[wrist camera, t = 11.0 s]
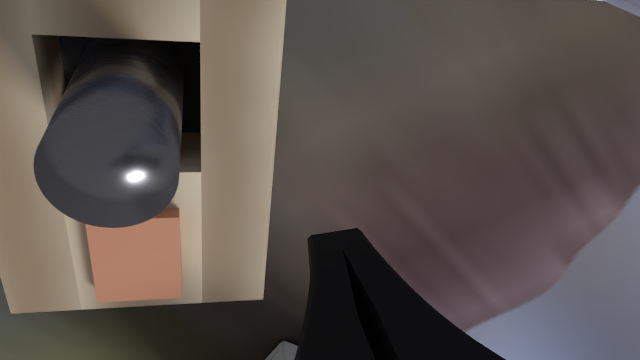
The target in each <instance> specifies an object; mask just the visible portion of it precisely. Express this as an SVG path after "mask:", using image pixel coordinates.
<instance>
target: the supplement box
mask: <svg viewBox="0 0 640 360" xmlns="http://www.w3.org/2000/svg"><path fill="white" fill-rule="evenodd" d="M297 348H298V346H297V345H294V344H292V343H289V342H286V341H282V342H281V343H280V344H279V345H278V346H277V347H276V348H275V349H274V350H273V351H272V352H271V353H270V354H269V356H268V357H267V358H266V359H265V360H294V359H295V355H296V352H297Z"/></svg>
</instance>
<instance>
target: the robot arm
mask: <svg viewBox="0 0 640 360" xmlns="http://www.w3.org/2000/svg"><path fill="white" fill-rule="evenodd" d="M598 1H605V2H607V3H610V4H612V5H614V6H616V7H619V8H621V9H623V10H625V11H628V12H630V13H632V14H634V15H637V16H639V17H640V0H598ZM308 252H309V265H310V284H309V294H308V301H307V307H306V313H305V318H304V324H303V328H302V332H301V337H300V341H299V344H298V348H297V352H296V355H295V359H294V360H505V359H504V358H502V357H501V356H499V355H497V354H496V353H494V352H493V351H491V350H490V349H488V348H487V347H485V346H483V345H482V344H480V343H479V342H477V341H476V340H474V339H473V338H471V337H470V336H469V335H467V334H466V333H465V332H463V331H462V330H460V329H459V328H458V327H456V326H455V325H454V324H453V323H451V322H450V321H449V320H447V319H446V318H445V317H444V316H442V315H441V314H440V313H439V312H438V311H436V310H435V309H434V308H433V307H432V306H431V305H429V304H428V303H427V302H426V301H425V300H424V299H423V298H422V297H421V296H420V295H418V294H417V293H416V292H415V291H414V290H413V289H412V288H411V287H410V286H409V285H408V284H407V283H406V282H405V281H404V280H403V279H402V278H401V277H400V276H399V275H398V274H397V273H396V272H395V271H394V269H393V268H392V267H391V266H390V265H389V264H388V263H387V262H386V261H385V260H384V258H383V257H382V256H381V255H380V254H379V253H378V252H377V250H376V249H375V248H374V247H373V245H372V244H371V243H370V242H369V240H368V239H367V238H366V237H365V235H364V234H363V233H362V231H361V230H359V229H358V228H354V229H348V230H341V231H335V232H329V233H322V234H316V235H311V236H310V237H309V238H308Z"/></svg>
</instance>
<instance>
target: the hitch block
mask: <svg viewBox="0 0 640 360" xmlns="http://www.w3.org/2000/svg"><path fill="white" fill-rule="evenodd" d="M285 13H286V0H0V277H1V280H2V284H3V287H4V291H5V294H6V298H7V301H8V305H9V309H10V312H11V314H13V313H31V312H49V311H66V310H84V309H102V308H119V307H137V306H154V305H172V304H190V303H207V302H225V301H243V300H260V299H263V295H264V282H265V270H266V257H267V244H268V231H269V218H270V206H271V193H272V180H273V167H274V154H275V141H276V129H277V116H278V103H279V90H280V77H281V64H282V52H283V39H284V26H285ZM59 36H77V37H98V38H120V39H141V40H162V41H183V42H200V89H201V132H182V133H181V151H180V170H179V183H178V187H177V191H176V193H175V195H174V197H173V199H172V201H171V202H170V203H169V205H168V206H167V207H166V208H165V209H180V237H181V266H182V298H172V299H154V300H136V301H117V302H99V303H97V298H96V292H95V285H94V278H93V272H92V265H91V258H90V252H89V245H88V238H87V232H86V225H85V224H84V223H82V222H79V221H76V220H74V219H72V218H70V217H68V216H66V215H65V214H63V213H62V212H60V211H59V210H58V209H56V208H55V207H54V206H53V205H52V204H51V203H50V202H49V201H48V200H47V199H46V198H45V196H44V195H43V193H42V192H41V190H40V189H39V186H38V184H37V182H36V179H35V175H34V167H33V165H34V156H35V152H36V149H37V147H38V145H39V143H40V141H41V139H42V137H43V135H44V133H45V131H46V129H47V126H48V124H49V122H50V120H51V118H52V116H53V114H54V112H55V110H56V108H57V106H58V104H59V102H60V100H61V98H62V96H63V94H64V92H65V90H66V88H67V86H66V79H65V73H64V66H63V60H62V53H61V47H60V40H59Z"/></svg>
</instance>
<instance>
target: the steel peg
mask: <svg viewBox="0 0 640 360" xmlns="http://www.w3.org/2000/svg"><path fill="white" fill-rule="evenodd" d="M184 76H185V74H184V66H183V62H182V59H181V57H180V55H179V53H178V51H177V50H176V48H175V47H174V45H173V44H172V43H171V42H170V41H162V40H141V39H120V38H98V37H93V38H92V39H91V41H90V42H89V44H88V45H87V47H86V49H85V51H84V53H83V55H82V57H81V59H80V61H79V63H78V65H77V67H76V69H75V71H74V73H73V75H72V77H71V80H70V82H69V84H68V86H67V88H66V90H65V92H64V94H63V96H62V98H61V100H60V102H59V104H58V106H57V108H56V110H55V112H54V114H53V116H52V118H51V120H50V122H49V124H48V126H47V129H46V131H45V133H44V135H43V137H42V139H41V141H40V143H39V145H38V147H37V149H36V152H35V156H34V165H33V167H34V175H35V179H36V182H37V184H38V186H39V189H40V190H41V192H42V193H43V195H44V196H45V198H46V199H47V200H48V201H49V202H50V203H51V204H52V205H53V206H54V207H55V208H56V209H58V210H59V211H60V212H62V213H63V214H65V215H66V216H68V217H70V218H72V219H74V220H76V221H79V222H82V223H84V224H88V225H92V226H96V227H104V228H122V227H129V226H133V225H137V224H140V223H143V222H145V221H148V220H150V219H152V218H153V217H155V216H156V215H158V214H159V213H161V212H162V211H163V210H164V209H165V208H166V207H167V206H168V205H169V203H170V202H171V201H172V199H173V197H174V195H175V193H176V191H177V187H178V183H179V170H180V151H181V133H182V114H183V95H184Z"/></svg>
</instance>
